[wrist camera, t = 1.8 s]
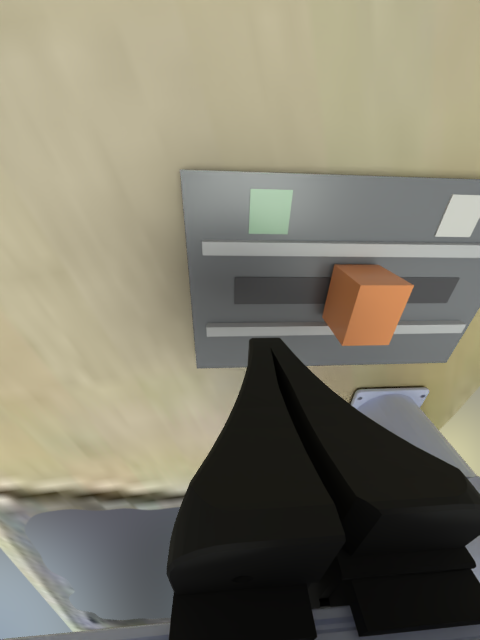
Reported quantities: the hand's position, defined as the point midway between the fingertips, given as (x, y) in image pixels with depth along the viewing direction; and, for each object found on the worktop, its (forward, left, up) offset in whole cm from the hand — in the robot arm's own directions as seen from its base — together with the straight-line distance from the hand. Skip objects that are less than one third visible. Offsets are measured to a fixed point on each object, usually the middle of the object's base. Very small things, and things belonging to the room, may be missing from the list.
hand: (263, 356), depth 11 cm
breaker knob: (0, -7, -7) cm, 10 cm away
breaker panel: (0, -7, -9) cm, 11 cm away
